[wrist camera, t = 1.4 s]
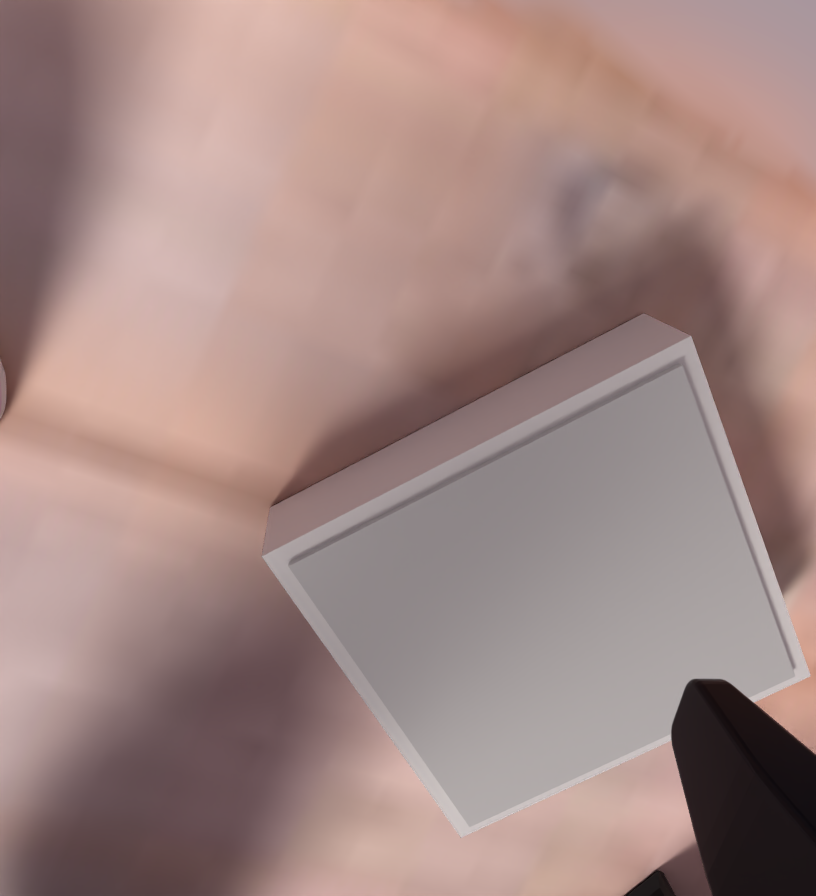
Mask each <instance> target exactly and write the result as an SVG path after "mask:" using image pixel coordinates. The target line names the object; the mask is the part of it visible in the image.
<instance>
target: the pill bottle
mask: <svg viewBox="0 0 816 896" xmlns="http://www.w3.org/2000/svg"><path fill="white" fill-rule="evenodd" d="M5 405H6V376H5V371H4V368H3V365H2V362H1V359H0V419H1V417H2V415H3V413H4V410H5Z"/></svg>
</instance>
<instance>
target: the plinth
mask: <svg viewBox="0 0 816 896" xmlns="http://www.w3.org/2000/svg"><path fill="white" fill-rule="evenodd" d="M262 558H263V559H264V561H265V562H266V563H267V565H268V566H269V568H270V569H271V571H272V572H273V573H274V575H275V576H276V578H277V579H278V580H279V582H280V583H281V585H282V586H283V587H284V589H285V590H286V592H287V593H288V594H289V596H290V597H291V599H292V600H293V602H294V603H295V604H296V606H297V607H298V609H299V610H300V611H301V613H302V614H303V616H304V617H305V618H306V620H307V621H308V623H309V624H310V626H311V627H312V628H313V630H314V631H315V633H316V634H317V635H318V637H319V638H320V640H321V641H322V642H323V644H324V645H325V647H326V648H327V649H328V651H329V652H330V654H331V655H332V657H333V658H334V659H335V661H336V662H337V664H338V665H339V666H340V668H341V669H342V671H343V672H344V673H345V675H346V676H347V678H348V679H349V681H350V682H351V683H352V685H353V686H354V688H355V689H356V690H357V692H358V693H359V695H360V696H361V697H362V699H363V700H364V702H365V703H366V704H367V706H368V707H369V709H370V710H371V712H372V713H373V714H374V716H375V717H376V719H377V720H378V721H379V723H380V724H381V726H382V727H383V728H384V730H385V731H386V733H387V734H388V736H389V737H390V738H391V740H392V741H393V743H394V744H395V745H396V747H397V748H398V750H399V751H400V752H401V754H402V755H403V757H404V758H405V759H406V761H407V762H408V764H409V765H410V767H411V768H412V769H413V771H414V772H415V774H416V775H417V776H418V778H419V779H420V781H421V782H422V783H423V785H424V786H425V788H426V789H427V791H428V792H429V793H430V795H431V796H432V798H433V799H434V800H435V802H436V803H437V805H438V806H439V807H440V809H441V810H442V812H443V813H444V814H445V816H446V817H447V819H448V820H449V822H450V823H451V824H452V826H453V827H454V829H455V830H456V831H457V833H458V834H459V836H460V837H461V838H462V837H464V836H466V835H468V834H470V833H473V832H475V831H477V830H479V829H481V828H483V827H486V826H488V825H490V824H492V823H494V822H496V821H498V820H501V819H503V818H505V817H507V816H509V815H511V814H514V813H516V812H518V811H520V810H522V809H524V808H527V807H529V806H531V805H533V804H535V803H537V802H540V801H542V800H544V799H546V798H548V797H550V796H553V795H555V794H557V793H559V792H561V791H563V790H566V789H568V788H570V787H572V786H574V785H576V784H578V783H581V782H583V781H585V780H587V779H589V778H591V777H594V776H596V775H598V774H600V773H602V772H604V771H607V770H609V769H611V768H613V767H615V766H617V765H620V764H622V763H624V762H626V761H628V760H630V759H633V758H635V757H637V756H639V755H641V754H643V753H646V752H648V751H650V750H652V749H654V748H656V747H658V746H661V745H663V744H665V743H667V742H669V741H671V728H672V723H673V720H674V717H675V714H676V711H677V708H678V706H679V703H680V700H681V697H682V694H683V692H684V689H685V687H686V684H687V683H688V682H689V681H690V680H692V679H723V680H726V681H727V682H729V683H731V684H732V685H733V686H735V687H736V688H737V689H738V690H739V691H740V692H742V693H743V694H744V695H745V696H746V697H748V698H749V699H750V700H751V701H752V702H756V701H758V700H760V699H762V698H764V697H767V696H769V695H771V694H773V693H775V692H777V691H780V690H782V689H784V688H786V687H788V686H790V685H793V684H795V683H797V682H799V681H801V680H803V679H806V678H808V677H810V676H811V675H810V673H809V670H808V667H807V664H806V661H805V658H804V656H803V653H802V650H801V647H800V644H799V641H798V638H797V636H796V633H795V630H794V627H793V624H792V621H791V619H790V616H789V613H788V610H787V607H786V604H785V601H784V599H783V596H782V593H781V590H780V587H779V584H778V581H777V579H776V576H775V573H774V570H773V567H772V564H771V562H770V559H769V556H768V553H767V550H766V547H765V544H764V542H763V539H762V536H761V533H760V530H759V527H758V525H757V522H756V519H755V516H754V513H753V510H752V507H751V505H750V502H749V499H748V496H747V493H746V490H745V487H744V485H743V482H742V479H741V476H740V473H739V470H738V468H737V465H736V462H735V459H734V456H733V453H732V450H731V448H730V445H729V442H728V439H727V436H726V433H725V431H724V428H723V425H722V422H721V419H720V416H719V413H718V411H717V408H716V405H715V402H714V399H713V396H712V394H711V391H710V388H709V385H708V382H707V379H706V376H705V374H704V371H703V368H702V365H701V362H700V359H699V356H698V354H697V351H696V348H695V345H694V342H693V339H692V337H691V335H689V334H686V333H684V332H682V331H680V330H678V329H676V328H674V327H672V326H670V325H667V324H665V323H663V322H661V321H659V320H657V319H655V318H653V317H651V316H649V315H646V314H644V313H643V314H641V315H639V316H637V317H636V318H634V319H632V320H630V321H628V322H626V323H624V324H622V325H620V326H618V327H616V328H614V329H612V330H611V331H609V332H607V333H605V334H603V335H601V336H599V337H597V338H595V339H593V340H591V341H589V342H587V343H585V344H584V345H582V346H580V347H578V348H576V349H574V350H572V351H570V352H568V353H566V354H564V355H562V356H560V357H559V358H557V359H555V360H553V361H551V362H549V363H547V364H545V365H543V366H541V367H539V368H537V369H535V370H534V371H532V372H530V373H528V374H526V375H524V376H522V377H520V378H518V379H516V380H514V381H512V382H510V383H509V384H507V385H505V386H503V387H501V388H499V389H497V390H495V391H493V392H491V393H489V394H487V395H485V396H484V397H482V398H480V399H478V400H476V401H474V402H472V403H470V404H468V405H466V406H464V407H462V408H460V409H459V410H457V411H455V412H453V413H451V414H449V415H447V416H445V417H443V418H441V419H439V420H437V421H435V422H434V423H432V424H430V425H428V426H426V427H424V428H422V429H420V430H418V431H416V432H414V433H412V434H410V435H409V436H407V437H405V438H403V439H401V440H399V441H397V442H395V443H393V444H391V445H389V446H387V447H385V448H384V449H382V450H380V451H378V452H376V453H374V454H372V455H370V456H368V457H366V458H364V459H362V460H360V461H359V462H357V463H355V464H353V465H351V466H349V467H347V468H345V469H343V470H341V471H339V472H337V473H335V474H334V475H332V476H330V477H328V478H326V479H324V480H322V481H320V482H318V483H316V484H314V485H312V486H310V487H309V488H307V489H305V490H303V491H301V492H299V493H297V494H295V495H293V496H291V497H289V498H287V499H285V500H284V501H282V502H280V503H278V504H276V505H274V506H272V507H270V510H269V516H268V521H267V527H266V533H265V539H264V545H263V551H262Z"/></svg>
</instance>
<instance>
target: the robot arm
mask: <svg viewBox="0 0 816 896" xmlns="http://www.w3.org/2000/svg"><path fill="white" fill-rule="evenodd" d="M671 740H672V746H673V750H674V754H675V758H676V762H677V766H678V770H679V774H680V778H681V782H682V786H683V790H684V794H685V798H686V802H687V806H688V810H689V813H690V817H691V821H692V825H693V829H694V833H695V837H696V841H697V845H698V849H699V853H700V857H701V860H702V864H703V867H704V871H705V874H706V878H707V881H708V884H709V887H710V890H711V893H712V896H816V754H814V753H813V752H812V751H811V750H810V749H808V748H807V747H806V746H805V745H804V744H803V743H801V742H800V741H799V740H798V739H797V738H795V737H794V736H793V735H792V734H791V733H789V732H788V731H787V730H786V729H785V728H783V727H782V726H781V725H780V724H779V723H777V722H776V721H775V720H774V719H773V718H772V717H770V716H769V715H768V714H767V713H766V712H764V711H763V710H762V709H761V708H760V707H758V706H757V705H756V704H755V703H754V702H752V701H751V700H750V699H749V698H748V697H746V696H745V695H744V694H743V693H742V692H740V691H739V690H738V689H737V688H736V687H735V686H733V685H732V684H731V683H729V682H727V681H726V680H723V679H692V680H690V681H689V682H688V683H687V684H686V687H685V689H684V692H683V694H682V697H681V700H680V703H679V706H678V708H677V711H676V714H675V717H674V720H673V723H672V728H671Z"/></svg>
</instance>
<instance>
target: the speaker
mask: <svg viewBox="0 0 816 896" xmlns="http://www.w3.org/2000/svg"><path fill="white" fill-rule="evenodd" d="M627 896H675V894H674V892H673V890H672V888H671V886H670V884H669V883H668V881H667V879H666V877H665V875H664V873H662V872H660V871H657V872H656V873H654V874H653V875H652V876H651V877H649V878H648V879H647V880H646V881H644V882H643V883H642V884H641V885H639V886H638V887H637V888H636V889H634V890H633V891H632V892H631V893H629V894H628V895H627Z"/></svg>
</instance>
